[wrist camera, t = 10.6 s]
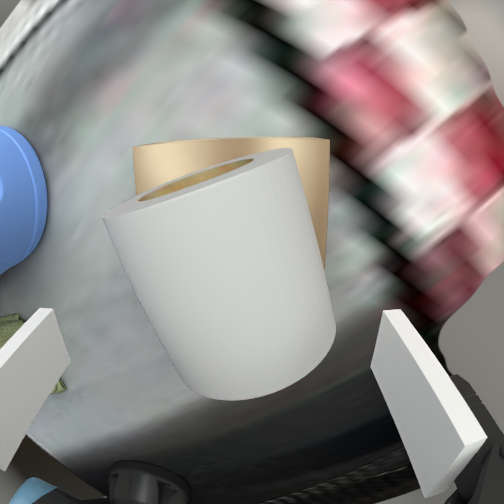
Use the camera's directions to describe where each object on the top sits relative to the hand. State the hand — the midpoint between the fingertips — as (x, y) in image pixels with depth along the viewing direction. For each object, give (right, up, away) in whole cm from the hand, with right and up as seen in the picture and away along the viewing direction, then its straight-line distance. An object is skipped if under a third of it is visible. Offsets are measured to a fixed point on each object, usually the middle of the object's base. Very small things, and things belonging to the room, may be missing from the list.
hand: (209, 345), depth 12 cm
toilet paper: (0, +5, +11) cm, 12 cm away
